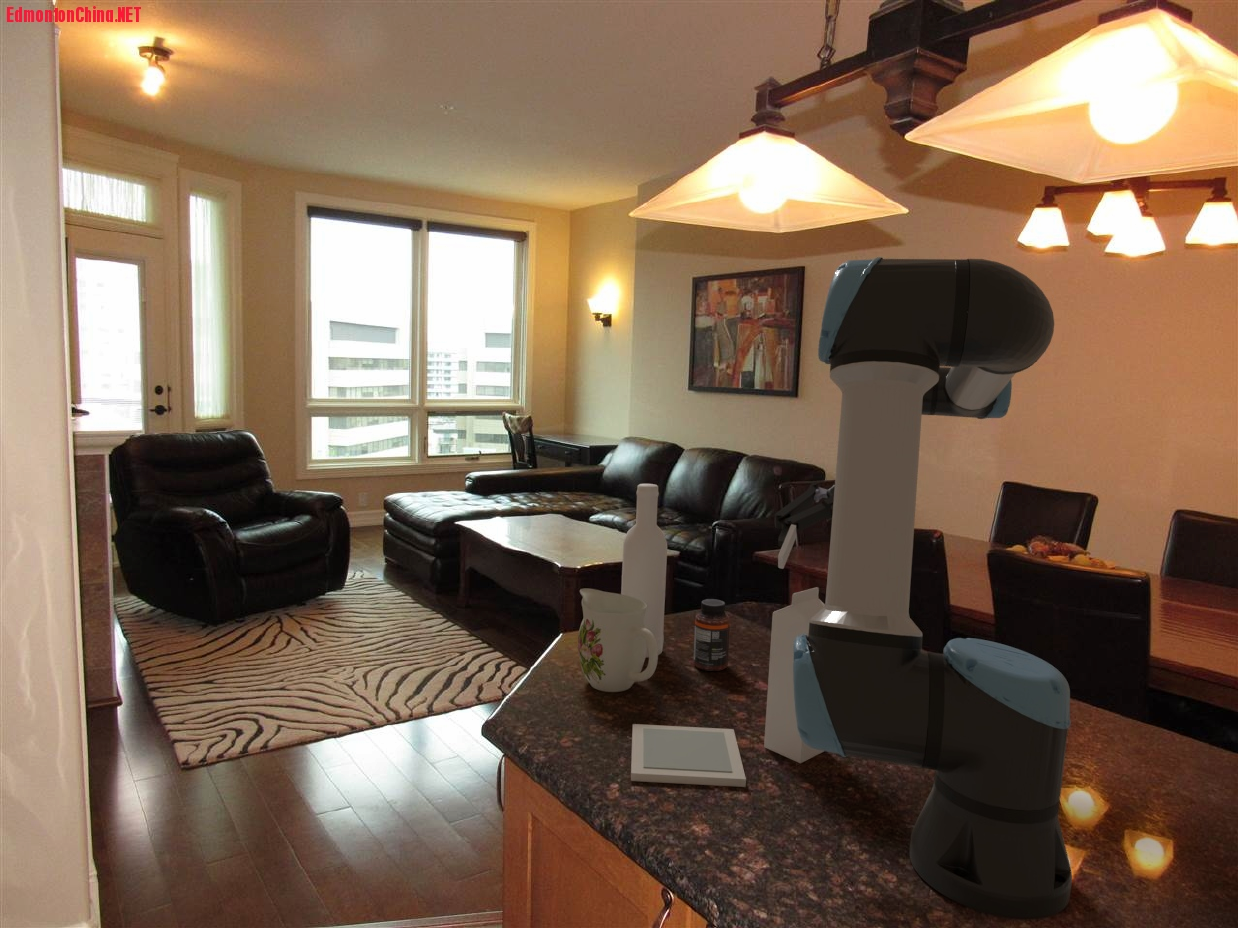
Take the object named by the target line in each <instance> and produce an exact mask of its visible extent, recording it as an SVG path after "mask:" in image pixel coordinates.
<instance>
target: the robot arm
mask: <svg viewBox="0 0 1238 928" xmlns="http://www.w3.org/2000/svg"><path fill="white" fill-rule="evenodd" d="M1054 317H1055V316H1054V310H1053V309H1052V306H1051V303H1050V301H1049V299H1048V297H1046V295H1045V293H1044V291H1043V289H1041V288H1040V286H1038V285H1037V284H1036V282H1034V281H1033V280H1032V279H1031V278H1030V277H1028V276H1027V275H1026V274H1023V273H1022V272H1020V271H1018V270H1017V269H1015V268H1014V267H1012V266H1009V265H1007V264H1005V263H1004V264H1003V263H1001V262H998V261H995V260H990V259H989V260H988V259H985V258H967V259H962V258H961V259H954V258H953V259H952V258H950V259H949V258H947V259H946V258H943V259H942V258H884V257H880V256H879V257H875V258H873V259H871V258H870V259H856V260H855V259H854V260H853V259H851V260H847V261H844V262H843V263H841V264H840V265H839V266H838V267H837V269H836V270H835V272H834V274H833V275H832V279H831V282H830V286H829V288H828V292H827V296H826V300H825V306H824V310H823V315H822V321H821V330H820V334H819V335H820V337H819V340H818V348H817V349H818V352H817V353H818V354H817V356H818V360H819V361H820V362H822V363H825V364H826V365H830V366H829V378H830V380H831V381H832V382H833V383H834V384H835V385H836V386H837V388H838V389H839V390H840V391H841V401H840V403H841V404H840V415H839V417H840V419H839V428H838V429H839V430H838V431H839V432H838V440H837V441H838V442H837V455H836V468H835V479H834V482H833V483H832V486H831V487H830V488H828V489H826V488H824V487H820V484H819V482H816V481H813V482H811V483H810V485H809V487H808V488H807V490H806V491H804V492H803V493H802V494H800V495H798V497H797V496H796V498H795V499H793V500H792V501H790V502H789V503H788V504H787V505H784V507H783V508H781V509H779V511H777V512H776V513H774V527H775V529H777V530H780V529H781V531H780V533H779V535H778V548H780V549H779V553H778V555H777V560H778V561H777V564H778V565H777V567H778V568H779V569H782V570H784V568H785V566H786V563H787V561H788V558H789V557H790V553H791V551H792V548H793V546H794V544H795V542H796V539H797V532H800V531H801V530H804V529H806V528H808V527H811V526H812V525H815V524H816V523H820V522H821V521H823V520H827V521H829V520H831V529H830V544H829V554H828V566H827V567H828V568H827V581H826V593H825V603H824V604H825V606H824V607H823V609H822V610H820V611H819V612H818V613H817V614H816V615H814V616H813V617H812V618H811V619H810V622H809V634H808V636H807V635H806V634H802V635H800V636H797V637H796V638H795V640H794V646H793V652H794V662H793V681H794V701H795V713H796V722H797V729H798V733H799V736H800V738H801V739H802V741H803V742H804V743H805V744H806V745H807V746H809V747H811V748H814V749H818V750H822V751H824V752H829V753H833V754H836V755H839V756H840V757H842V758H847V757H855V758H860V759H866V760H872V761H879V762H884V763H890V764H896V765H903V766H908V767H914V768H918V769H919V768H920V769H921V768H922V769H928V770H933V771H934V777H933V785H932V788H931V791H930V792H929V794H928V796H927V799H926V800H925V802H924V804H923V807H922V809H921V810H920V813H919V815H918V817H917V819H916V821H915V823H914V826H913V828H912V831H911V835H910V845H909V860H910V863H911V864H912V865H911V866H912V867H913V869H914V870H915V871H916V873H917V874H918V875H919V876H920V878H922V880H923V881H924V882H925V883H926V884H928V885H929V886H930V887H931V888H933V889H934V890H935V891H937V892H939V894H941V895H943V896H944V897H947V898H948V899H950V900H952V901H954V902H956V903H958V904H960V905H962V906H964V907H967V908H968V909H972V910H975V911H978V912H980V913H984V914H988V915H992V916H995V917H1002V918H1005V919H1007V918H1008V919H1014V920H1015V919H1016V920H1037V919H1045V918H1048V917H1052V916H1055V915H1057V914H1059V913H1060V912H1062V911H1064V910H1065V908H1066V907H1067V906H1068V905H1069V902H1070V899H1071V892H1072V891H1071V890H1072V883H1073V875H1072V874H1073V873H1072V869H1071V863H1070V861H1069V857H1068V853H1067V848H1066V844H1065V840H1064V836H1063V832H1062V828H1061V824H1060V820H1059V819H1060V818H1059V812H1060V811H1059V809H1060V801H1061V793H1062V785H1063V775H1064V767H1065V757H1066V748H1067V739H1068V732H1069V731H1068V729H1069V728H1070V727H1071V725H1072V724H1071V723H1072V720H1071V717H1070V714H1071V712H1070V710H1071V704H1070V703H1071V702H1070V701H1071V690H1070V685H1069V683H1068V681H1067V679H1066V677H1065V676H1064V675H1063V674H1062V672H1060V671H1059V669H1057V668H1056V667H1054V666H1053V665H1052V664H1050V663H1049V662H1048V661H1046V660H1043V659H1042V658H1040V657H1038V656H1036V655H1034V654H1031V653H1029V652H1027V651H1025V650H1021V649H1020V648H1015V647H1013V646H1009V645H1006V644H1002V643H999V642H995V641H991V640H985V639H981V638H975V637H974V638H972V637H967V638H962V637H956V638H953V639H950V640H949V641H948V642H947V643H946V645H945V646H944V647H943V653H939V652H930V651H924V650H923V632H922V631H921V630H920V628H919V626H917V625H916V623H915V622H914V621H913V620H912V618H910V612H909V611H910V610H909V608H910V597H911V596H910V595H911V594H910V593H911V579H912V565H913V550H914V536H915V535H914V534H915V521H916V519H915V518H916V505H917V504H916V503H917V489H918V474H919V457H920V444H921V431H922V416H939V417H940V416H944V417H957V418H959V417H960V418H976V419H978V420H984V419H985V420H986V419H1002V418H1003V417H1005V416H1006V415H1007V413H1008V412H1009V408H1010V405H1011V400H1012V399H1011V397H1012V387H1013V386H1012V383H1013V382H1012V380H1013V379H1012V378H1013V377H1014V376H1015V375H1016V374H1017V373H1021V372H1024V371H1025V370H1027V369H1029V368H1030V367H1032V366H1033V365H1034V364H1036V362H1038V361H1039V360H1040V358H1041V357H1043V355H1044V354H1045V353H1046V351H1047V349H1048V348H1049V346H1050V344H1051V341H1052V338H1053V335H1054V330H1055V318H1054ZM823 498H824V499H823ZM821 499H823V500H822V501H821V503H820V500H821ZM815 503H818V504H816V505H814V504H815ZM813 505H814V506H813Z"/></svg>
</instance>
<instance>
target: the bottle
mask: <svg viewBox="0 0 1238 928" xmlns="http://www.w3.org/2000/svg"><path fill="white" fill-rule="evenodd" d="M635 494H636V515H635V516H636V517H635V524H634V525H633V526H632V527H631V528H629V529H628V531H627V532H626V535H625V537H624V539H623V545H622V546H623V547H622V566H621V567H622V568H621V588H620V589H621V591H620V594H623V595H627V596H631V597H634V598H637V599H640V600H642V601H644V602H645V603H646V604H647V608H646V612H645V616H644V624H645V628H646V629H648V630H649V631H651V632H652V634H653V635H654V637H655V639H656V642H657V648H658V656H659V655H661V654H662V652H663V646H664V638H665V637H664V627H665V626H664V623H665V604H666V602H665V600H666V582H667V581H666V580H667V559H668V542H667V538H666V535H665V532H664V531H663V530H662V529H661V528H660V527H659V526H658V524H657V523H658V522H657V521H658V504H659V503H658V500H659V499H658V497H659V496H660V492H659V485H657V484H655V483H654V484H653V483H639V484H638V485H637V490H636V493H635ZM646 658H648V659H649V648H648V644H647V652H646V657H645V659H646Z"/></svg>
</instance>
